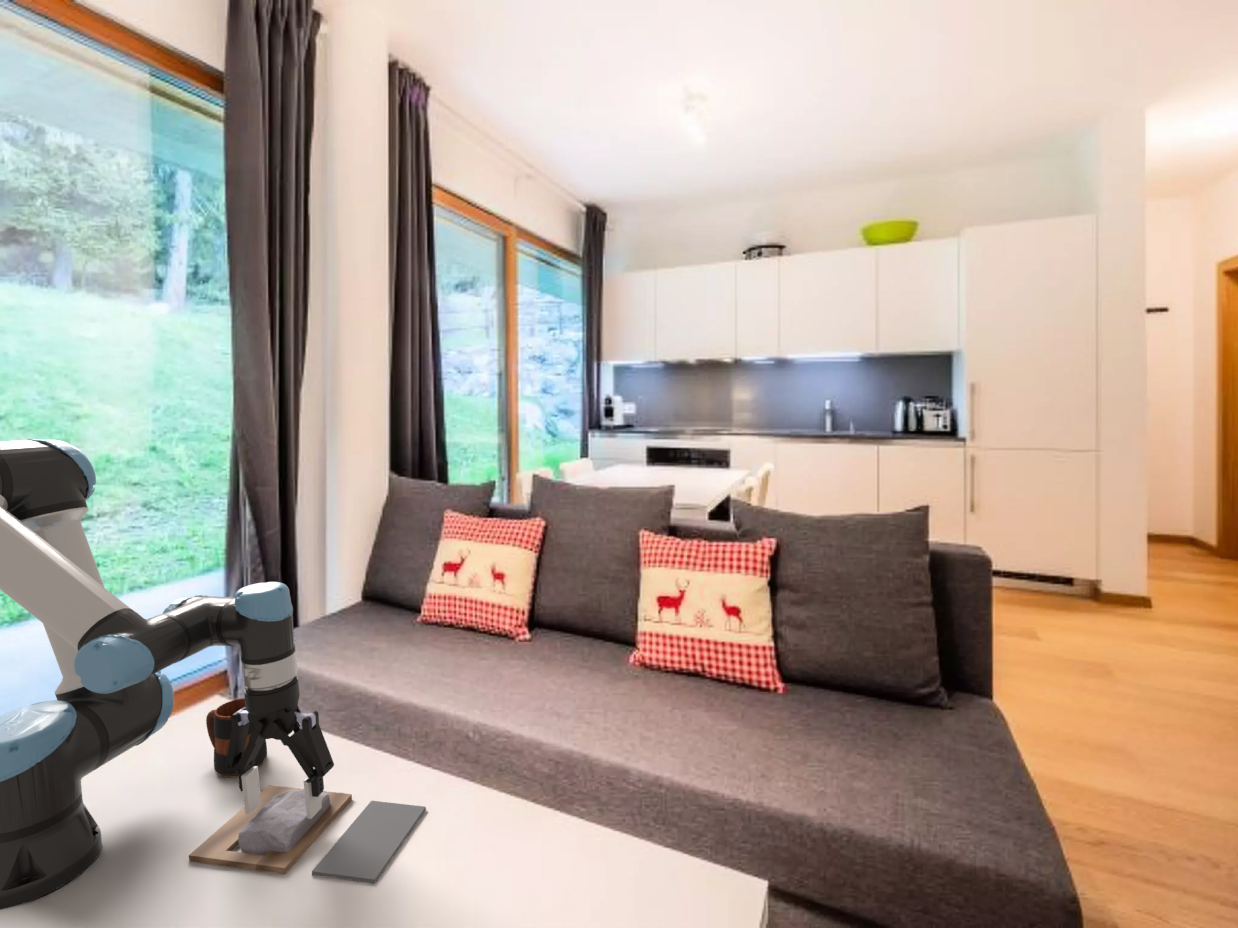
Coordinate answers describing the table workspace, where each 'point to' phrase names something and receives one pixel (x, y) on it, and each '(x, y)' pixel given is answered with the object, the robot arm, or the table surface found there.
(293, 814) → the stone block
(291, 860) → the pocket board
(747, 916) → the table surface
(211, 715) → the mug
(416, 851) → the table surface
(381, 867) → the mat
